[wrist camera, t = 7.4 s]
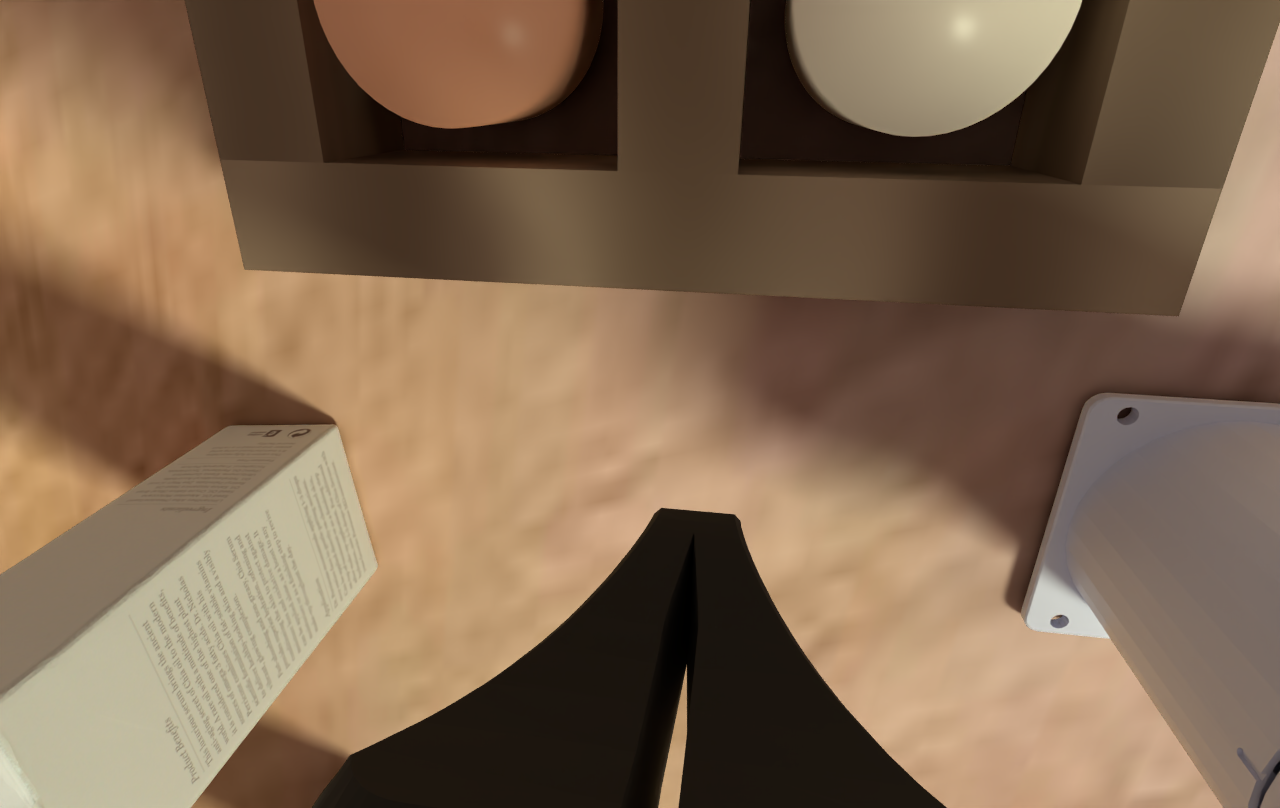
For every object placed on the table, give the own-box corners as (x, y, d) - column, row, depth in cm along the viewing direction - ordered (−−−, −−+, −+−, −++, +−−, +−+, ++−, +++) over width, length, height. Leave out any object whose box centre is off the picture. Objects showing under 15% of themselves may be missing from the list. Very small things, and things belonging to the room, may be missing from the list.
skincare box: (226, 421, 24) (-219, 700, 13) (341, 420, 23) (-25, 713, 12) (278, 568, 26) (-59, 908, 15) (383, 571, 25) (109, 929, 14)
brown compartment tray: (1263, -342, 13) (1462, -511, 9) (1091, 271, 18) (1178, 316, 14) (247, -285, 16) (95, -400, 12) (334, 238, 20) (244, 269, 17)
